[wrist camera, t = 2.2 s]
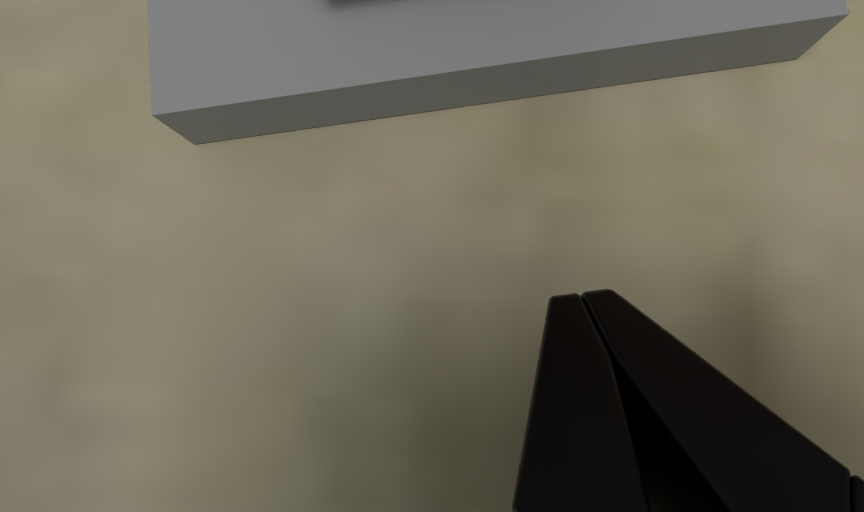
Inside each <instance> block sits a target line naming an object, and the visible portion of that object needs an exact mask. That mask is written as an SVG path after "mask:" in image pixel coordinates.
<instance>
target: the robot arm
mask: <svg viewBox="0 0 864 512" xmlns="http://www.w3.org/2000/svg"><path fill="white" fill-rule="evenodd" d="M512 510H513V512H864V480H863V479H861V478H860V477H859V476H856V475H853V476H851V477H850V471H849V469H848V468H846V467H845V466H844V465H843V464H841V463H840V462H839V461H837V460H836V459H835V458H833V457H832V456H831V455H829V454H828V453H827V452H825V451H824V450H823V449H821V448H820V447H819V446H818V445H816V444H815V443H814V442H812V441H811V440H810V439H808V438H807V437H806V436H804V435H803V434H802V433H800V432H799V431H798V430H796V429H795V428H794V427H793V426H791V425H790V424H789V423H787V422H786V421H785V420H783V419H782V418H781V417H779V416H778V415H777V414H775V413H774V412H773V411H771V410H770V409H769V408H767V407H766V406H765V405H764V404H762V403H761V402H760V401H758V400H757V399H756V398H754V397H753V396H752V395H750V394H749V393H748V392H746V391H745V390H744V389H742V388H741V387H740V386H739V385H737V384H736V383H735V382H733V381H732V380H731V379H729V378H728V377H727V376H725V375H724V374H723V373H721V372H720V371H719V370H717V369H716V368H715V367H714V366H712V365H711V364H710V363H708V362H707V361H706V360H704V359H703V358H702V357H700V356H699V355H698V354H696V353H695V352H694V351H692V350H691V349H690V348H689V347H687V346H686V345H685V344H683V343H682V342H681V341H679V340H678V339H677V338H675V337H674V336H673V335H671V334H670V333H669V332H667V331H666V330H665V329H664V328H662V327H661V326H660V325H658V324H657V323H656V322H654V321H653V320H652V319H650V318H649V317H648V316H646V315H645V314H644V313H642V312H641V311H640V310H639V309H637V308H636V307H635V306H633V305H632V304H631V303H629V302H628V301H627V300H625V299H624V298H623V297H621V296H620V295H619V294H617V293H616V292H615V291H613V290H610V289H603V290H596V291H588V292H584V293H583V294H582V295H581V296H580V295H578V294H576V293H573V294H565V295H558V296H552V297H551V298H550V299H549V302H548V308H547V313H546V319H545V325H544V330H543V336H542V342H541V347H540V353H539V358H538V364H537V370H536V375H535V381H534V386H533V392H532V398H531V403H530V409H529V415H528V420H527V426H526V431H525V437H524V443H523V448H522V454H521V459H520V465H519V471H518V476H517V482H516V488H515V493H514V499H513V504H512Z"/></svg>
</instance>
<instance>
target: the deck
mask: <svg viewBox="0 0 864 512" xmlns="http://www.w3.org/2000/svg"><path fill="white" fill-rule="evenodd" d="M848 14H849V13H848V9H847V5H846V1H845V0H148V22H149V48H150V75H151V101H152V116H154V117H155V118H157V119H158V120H160V121H161V122H162V123H164V124H165V125H167V126H168V127H170V128H171V129H173V130H174V131H176V132H177V133H178V134H180V135H181V136H183V137H184V138H186V139H187V140H189V141H190V142H192V143H193V144H202V143H209V142H216V141H223V140H230V139H237V138H244V137H251V136H258V135H265V134H272V133H279V132H286V131H294V130H301V129H308V128H315V127H322V126H329V125H336V124H343V123H350V122H357V121H364V120H371V119H378V118H385V117H392V116H400V115H407V114H414V113H421V112H428V111H435V110H442V109H449V108H456V107H463V106H470V105H477V104H484V103H491V102H498V101H505V100H513V99H520V98H527V97H534V96H541V95H548V94H555V93H562V92H569V91H576V90H583V89H590V88H597V87H604V86H611V85H619V84H626V83H633V82H640V81H647V80H654V79H661V78H668V77H675V76H682V75H689V74H696V73H703V72H710V71H717V70H725V69H732V68H739V67H746V66H753V65H760V64H767V63H774V62H781V61H788V60H795V59H797V58H798V57H800V56H801V55H802V54H803V53H804V52H805V51H806V50H808V49H809V48H810V47H811V46H812V45H813V44H815V43H816V42H817V41H818V40H819V39H820V38H822V37H823V36H824V35H825V34H826V33H827V32H828V31H830V30H831V29H832V28H833V27H834V26H835V25H837V24H838V23H839V22H840V21H841V20H842V19H844V18H845V17H846V16H847V15H848Z"/></svg>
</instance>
